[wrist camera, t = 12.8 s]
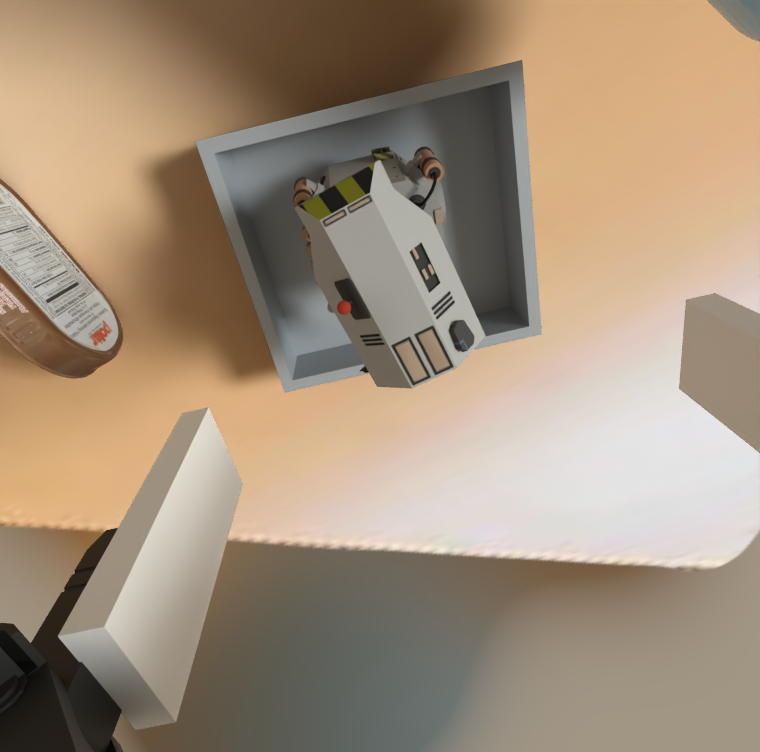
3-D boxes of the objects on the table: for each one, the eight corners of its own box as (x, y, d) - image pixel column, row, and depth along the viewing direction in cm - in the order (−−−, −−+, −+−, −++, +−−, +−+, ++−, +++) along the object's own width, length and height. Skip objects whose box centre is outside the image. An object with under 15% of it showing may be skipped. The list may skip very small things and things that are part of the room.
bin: (215, 139, 32) (195, 141, 28) (496, 69, 31) (522, 59, 27) (291, 362, 40) (284, 392, 35) (518, 310, 39) (541, 334, 34)
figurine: (335, 324, 38) (331, 434, 24) (290, 165, 32) (254, 193, 19) (452, 297, 37) (513, 394, 24) (426, 131, 32) (486, 137, 19)
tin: (-52, 165, 32) (-173, 178, 24) (-15, 139, 31) (-128, 144, 24) (114, 349, 38) (58, 404, 31) (146, 330, 38) (98, 381, 30)
